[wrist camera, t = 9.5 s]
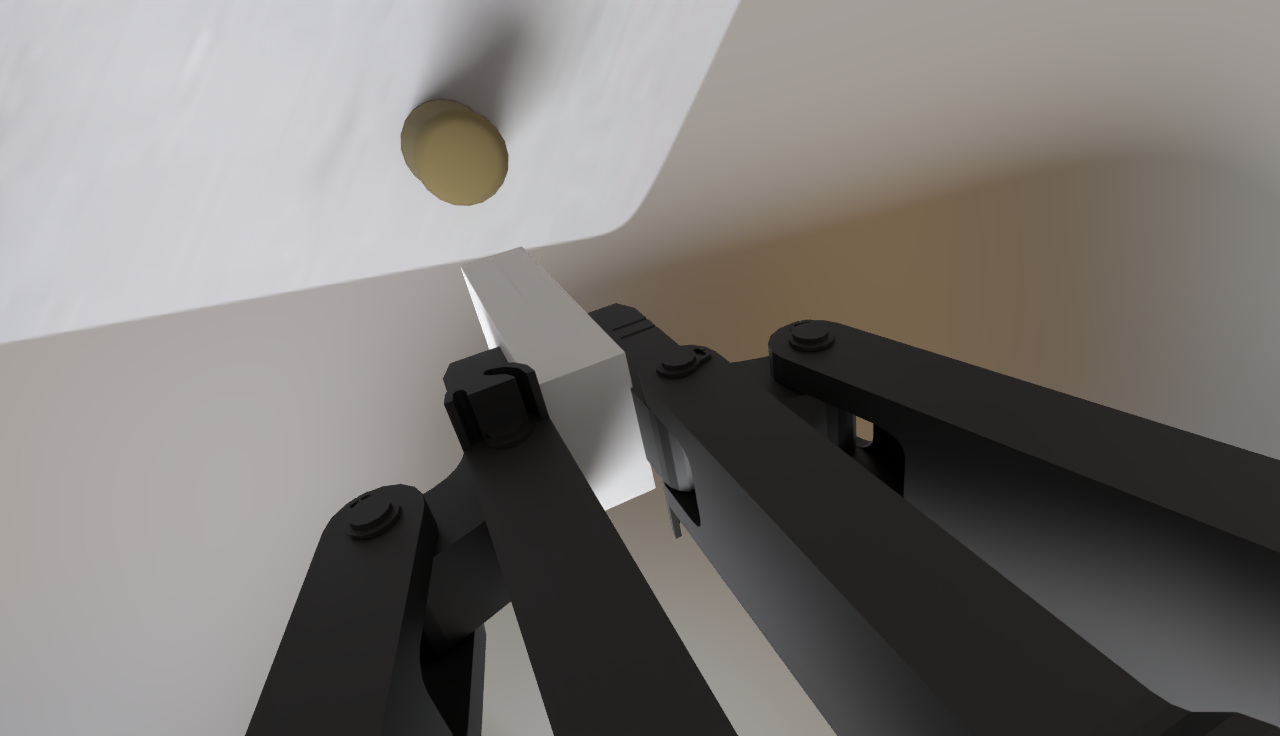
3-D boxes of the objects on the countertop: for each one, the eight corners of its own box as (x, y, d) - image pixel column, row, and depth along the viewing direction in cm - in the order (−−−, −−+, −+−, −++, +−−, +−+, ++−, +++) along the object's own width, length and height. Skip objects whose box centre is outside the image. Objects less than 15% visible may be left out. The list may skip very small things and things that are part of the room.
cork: (409, 195, 44) (416, 223, 34) (392, 101, 41) (394, 102, 32) (496, 187, 45) (526, 212, 36) (485, 96, 43) (513, 97, 34)
